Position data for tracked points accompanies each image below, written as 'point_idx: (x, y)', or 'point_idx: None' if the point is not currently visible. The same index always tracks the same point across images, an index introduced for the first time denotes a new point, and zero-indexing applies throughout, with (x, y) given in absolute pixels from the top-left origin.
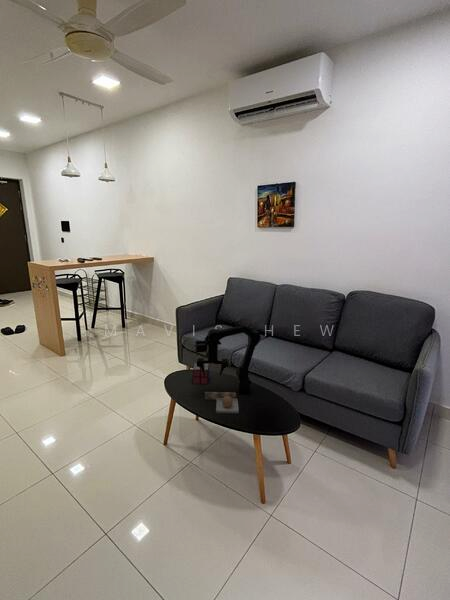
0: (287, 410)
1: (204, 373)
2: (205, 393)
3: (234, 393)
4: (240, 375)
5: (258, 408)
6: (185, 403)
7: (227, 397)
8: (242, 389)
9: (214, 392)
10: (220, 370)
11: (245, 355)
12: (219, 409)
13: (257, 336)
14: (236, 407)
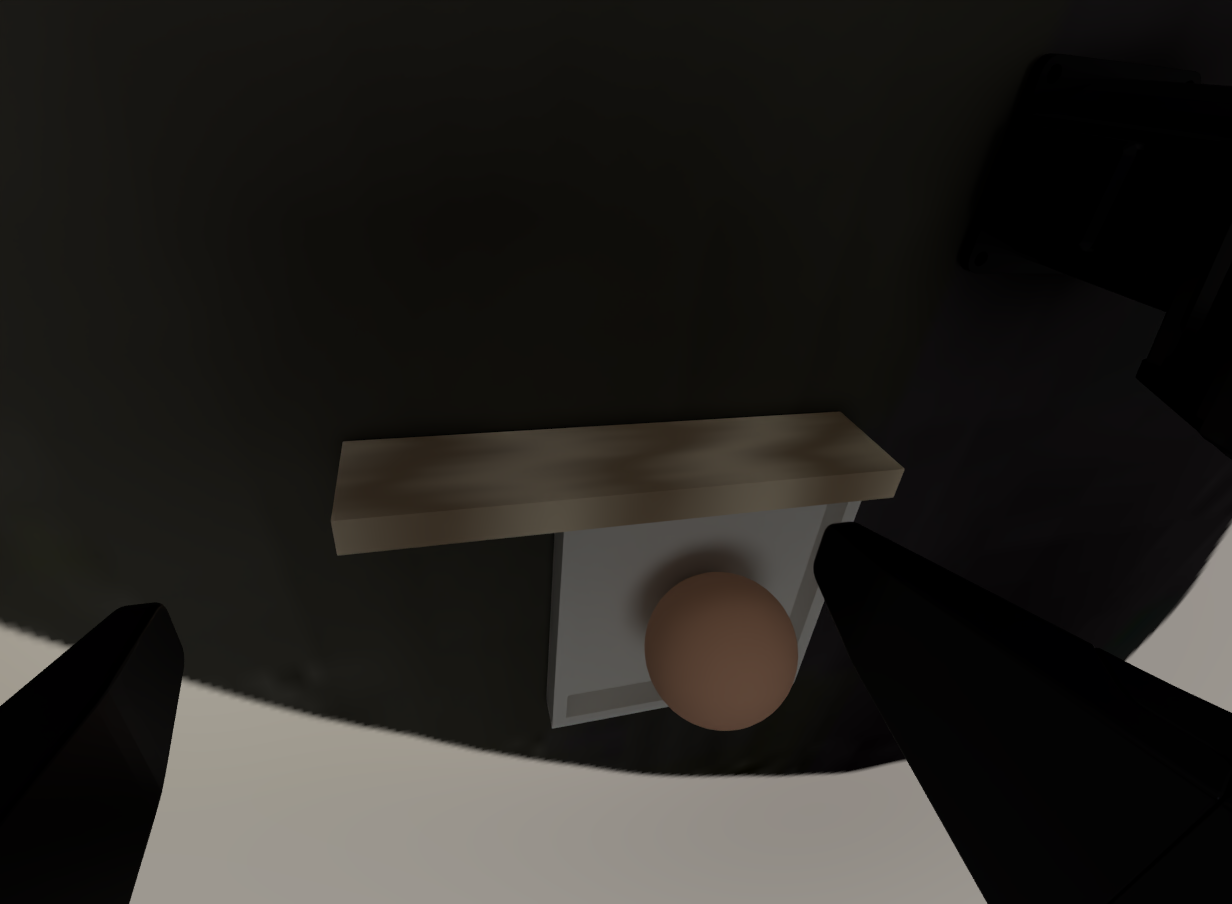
0: (1198, 546)
1: (119, 860)
2: (349, 547)
3: (876, 497)
4: None
5: (995, 559)
6: (3, 623)
7: (744, 726)
8: (1058, 266)
9: (539, 512)
10: (997, 795)
11: None
12: (589, 663)
13: None
14: (790, 599)
